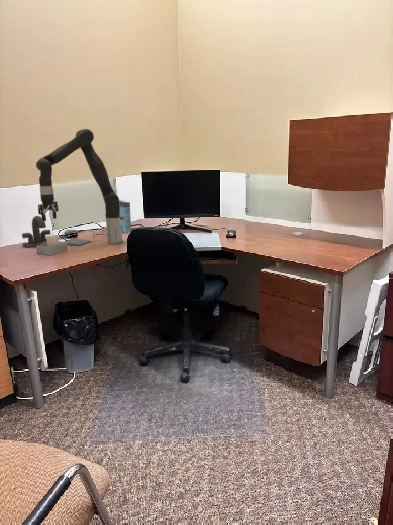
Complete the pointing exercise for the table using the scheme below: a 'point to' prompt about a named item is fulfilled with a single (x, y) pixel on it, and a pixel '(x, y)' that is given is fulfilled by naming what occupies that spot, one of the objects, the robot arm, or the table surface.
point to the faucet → (36, 233)
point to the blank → (51, 240)
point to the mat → (77, 242)
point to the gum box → (125, 216)
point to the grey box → (51, 248)
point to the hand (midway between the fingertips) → (49, 219)
